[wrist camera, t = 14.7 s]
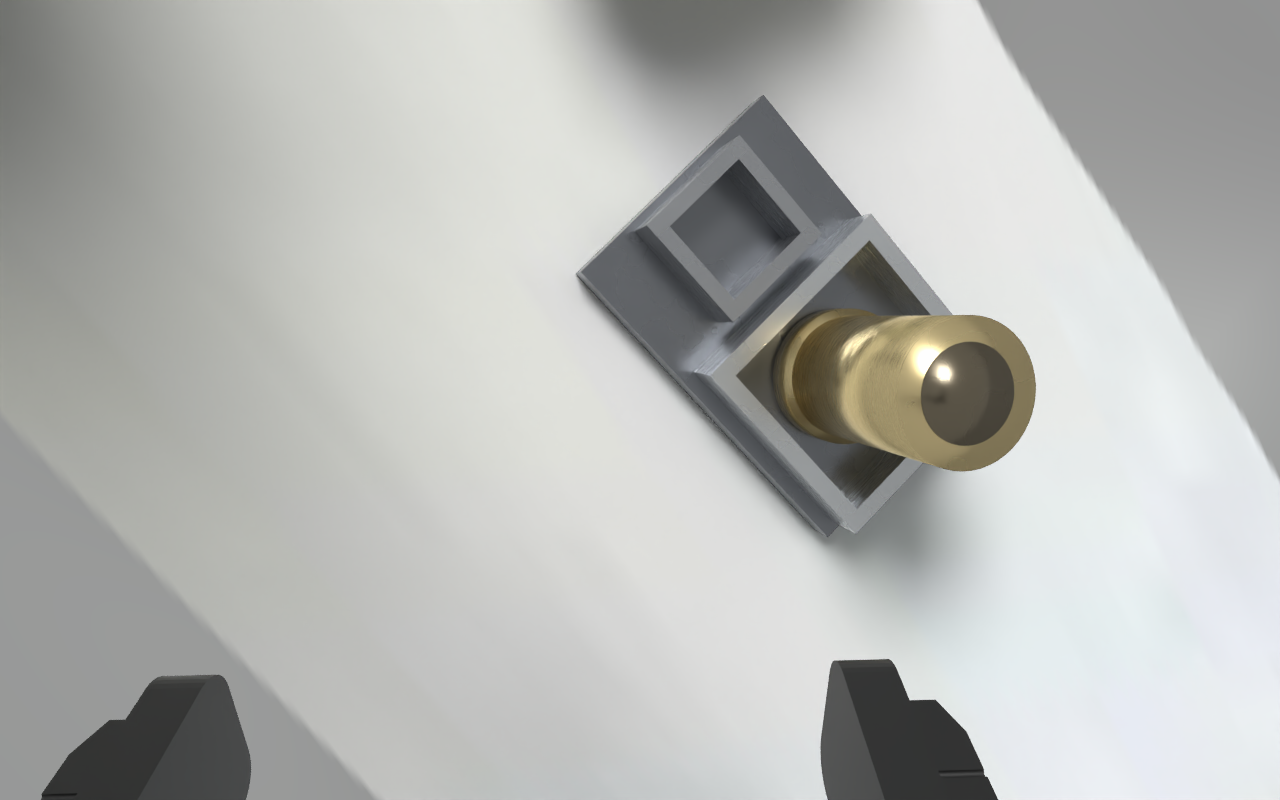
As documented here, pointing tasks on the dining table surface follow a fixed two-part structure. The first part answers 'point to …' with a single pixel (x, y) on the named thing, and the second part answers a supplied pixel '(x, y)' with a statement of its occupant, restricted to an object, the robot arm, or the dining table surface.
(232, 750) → the robot arm
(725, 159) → the plate
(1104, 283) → the dining table surface
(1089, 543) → the dining table surface
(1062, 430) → the dining table surface
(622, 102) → the dining table surface
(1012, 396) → the brass fitting
